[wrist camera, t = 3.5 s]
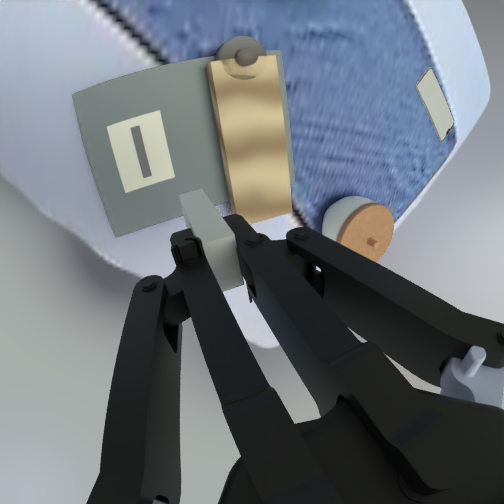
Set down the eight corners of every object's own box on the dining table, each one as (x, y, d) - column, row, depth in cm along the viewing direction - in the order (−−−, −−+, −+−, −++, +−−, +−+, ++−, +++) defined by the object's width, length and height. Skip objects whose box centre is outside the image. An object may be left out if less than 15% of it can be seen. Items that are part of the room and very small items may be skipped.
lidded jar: (312, 190, 40) (352, 215, 33) (366, 183, 43) (407, 205, 36) (307, 253, 46) (341, 286, 38) (358, 240, 49) (393, 267, 41)
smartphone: (430, 65, 35) (455, 122, 44) (428, 65, 36) (452, 121, 44) (414, 86, 37) (441, 144, 45) (412, 85, 37) (438, 143, 46)
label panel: (73, 90, 22) (68, 90, 21) (276, 47, 28) (284, 45, 26) (116, 234, 33) (115, 241, 31) (291, 181, 38) (299, 186, 36)
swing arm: (202, 43, 23) (209, 37, 20) (264, 37, 25) (277, 32, 22) (233, 221, 35) (242, 232, 32) (284, 206, 37) (296, 215, 34)
